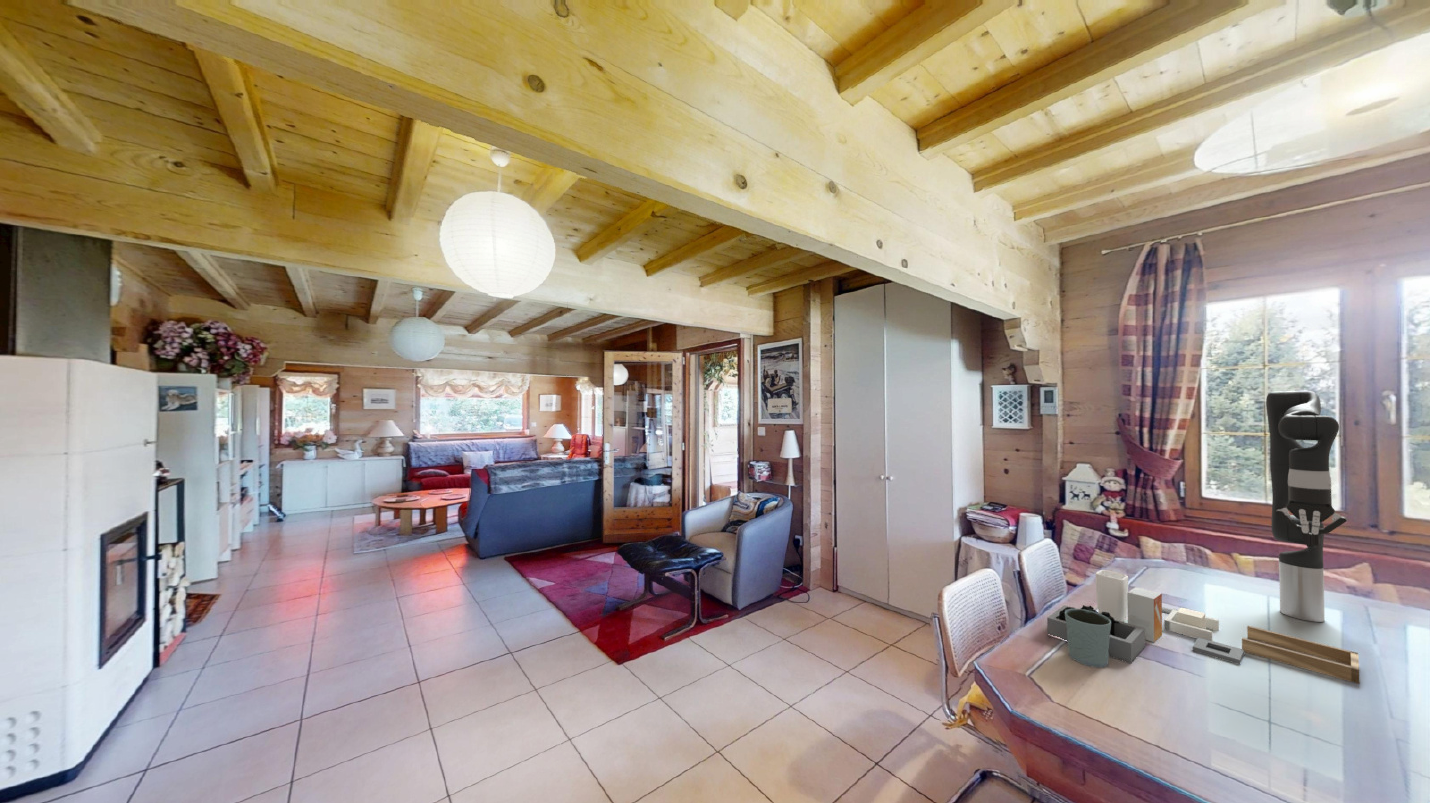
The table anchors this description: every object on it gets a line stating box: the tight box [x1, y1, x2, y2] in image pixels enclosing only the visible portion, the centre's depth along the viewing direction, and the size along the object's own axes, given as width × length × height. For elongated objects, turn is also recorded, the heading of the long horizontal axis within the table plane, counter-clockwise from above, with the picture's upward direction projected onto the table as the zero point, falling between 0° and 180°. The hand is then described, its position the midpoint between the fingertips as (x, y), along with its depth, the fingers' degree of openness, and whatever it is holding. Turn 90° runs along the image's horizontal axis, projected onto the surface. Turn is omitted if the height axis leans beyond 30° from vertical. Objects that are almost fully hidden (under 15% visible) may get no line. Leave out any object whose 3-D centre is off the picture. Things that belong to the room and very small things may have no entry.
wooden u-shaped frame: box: [1241, 625, 1361, 685], centre depth 129 cm, size 13×20×4 cm
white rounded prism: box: [1095, 569, 1129, 622], centre depth 153 cm, size 7×7×15 cm
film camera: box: [1059, 605, 1120, 636], centre depth 138 cm, size 15×10×9 cm, turn 78°
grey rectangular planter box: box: [1046, 605, 1146, 664], centre depth 139 cm, size 15×20×6 cm
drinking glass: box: [1065, 608, 1111, 668], centre depth 129 cm, size 10×10×12 cm
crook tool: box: [1162, 606, 1174, 614], centre depth 154 cm, size 4×13×1 cm, turn 44°
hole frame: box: [1192, 637, 1245, 665], centre depth 132 cm, size 9×9×1 cm
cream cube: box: [1177, 607, 1206, 630], centre depth 145 cm, size 6×6×6 cm
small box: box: [1127, 586, 1163, 643], centre depth 142 cm, size 8×6×13 cm
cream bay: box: [1163, 608, 1220, 641], centre depth 145 cm, size 13×10×3 cm
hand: (1310, 546), depth 132 cm, fingers closed
